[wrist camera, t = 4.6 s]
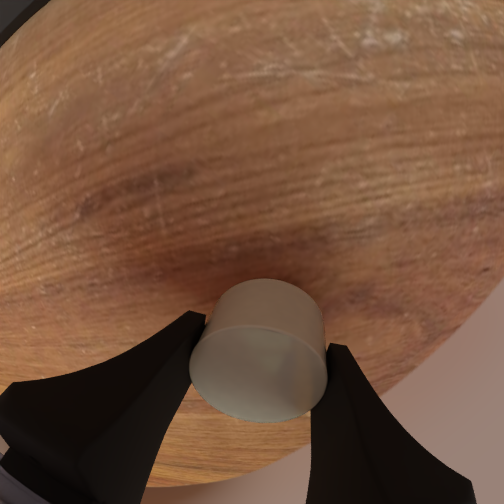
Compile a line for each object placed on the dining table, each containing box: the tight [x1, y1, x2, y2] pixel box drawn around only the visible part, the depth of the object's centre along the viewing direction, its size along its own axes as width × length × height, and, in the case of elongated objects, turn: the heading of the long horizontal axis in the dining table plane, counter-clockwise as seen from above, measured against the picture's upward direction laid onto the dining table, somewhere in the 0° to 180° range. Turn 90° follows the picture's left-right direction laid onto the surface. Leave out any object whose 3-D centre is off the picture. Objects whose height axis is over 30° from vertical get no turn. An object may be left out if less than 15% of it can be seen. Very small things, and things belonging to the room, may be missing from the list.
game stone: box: [189, 278, 328, 423], centre depth 10 cm, size 4×4×3 cm
